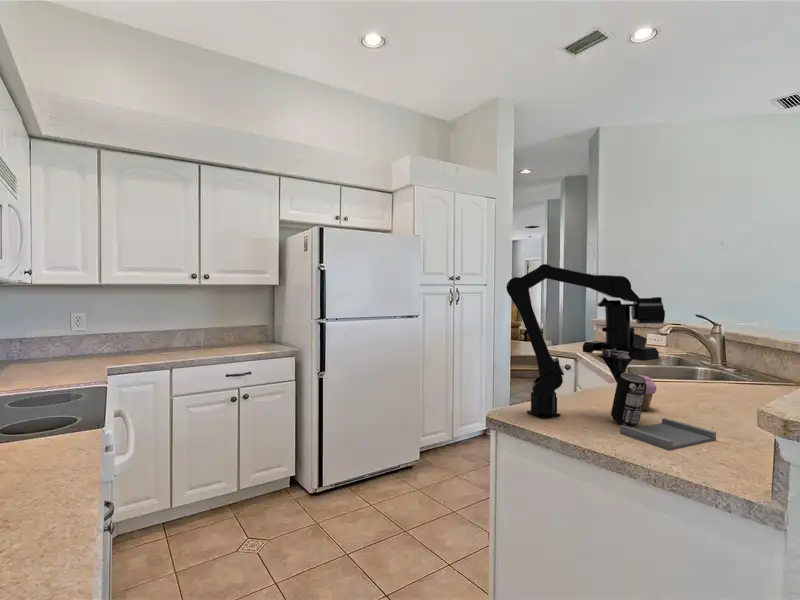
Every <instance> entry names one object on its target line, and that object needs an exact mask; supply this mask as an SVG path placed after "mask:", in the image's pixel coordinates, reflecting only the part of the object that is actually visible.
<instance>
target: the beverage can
mask: <svg viewBox="0 0 800 600" xmlns="http://www.w3.org/2000/svg"><path fill="white" fill-rule="evenodd" d="M639 375H640V374H634V373H630V372H625V373H622V374H621V376H620V377H619V378H618V381H617V382H616V385H615V392H614V396H613V400H612V408H611V412H610V416H611V417H612V419H613V420H614V421H615V422H616V423H619V424H620V425H625V426H629V427H630V426H631V427H632V426H635V425H637V424H639V423H640V419H641V414H642V411H643V410H642V406H643V402H644V397H645V393H646V388H647V385H646V383H645V382H646V379H645V378H643V377H641V376H639Z"/></svg>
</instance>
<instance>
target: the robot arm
mask: <svg viewBox="0 0 800 600" xmlns="http://www.w3.org/2000/svg"><path fill="white" fill-rule="evenodd" d="M544 280H550V281H556V282H560V283H564V284H569V285H573V286H579V287H584V288H587V289H591V290H593V291H595V292H597V293H599V294H602V295H604V296H608V297H610V298H614V299H612V300H610V299H609V300H608V299H607V297H603V298H602V299H601V301H599V302H598V303H597V304H596V306H597V307H600V308H601V307H602V308H603V307H604V308H605V309H604V311H605V326H604V327H602V329H601V330H602V332H605V341H600V340H592V341H585V342H584V343H583V344H582V352H583V353H589V354H592V353H593V352H594V351H598V352H601V353H602V354H601V355H600V356H599V358H601V359H603V361H604V362H605V364H606V366H607V367H608V368H609V371H610V373H611V374H612V377H613V378H614V380H615V383H617V381H618V378H619V377H620V376H621V374H622V373H626V369H627V368H628V366H629V364H630V363H631V362H632V361H633V360H634V361H635V360H636V361H642V362H643V361H645V362H646V361H652V360H659V359H660V354H659V353H660V351H658V349H657V348H656V347H653V346H646V343H647V340H648V339H647V337H644V336H642V335H640V334H636V332H635V329H634V328H635V327H632V326H631V320H632V321H635V322H636V324H637V325H638V324H641V325H642V324H643V325H644V324H645V325H647V324H648V325H650V324H653V325H654V324H655V325H656V324H664V322H665V318H666V310H665V309H664V304H663V301H662V297H660V296H659V297H657V296H655V297H642V298H641V297H639V296H638V294H636V293H635V291H634V290H633V288H632V284H631V281H630V280H629V279H628V278H627V277H625V276H623V275H612V274H608V275H607V274H591V273H588V272H587V273H586V272H582V271H577V270H572V269H567V268H563V267H558V266H552V265H550V264H548V263H543V264H541V265H539V266H538V267H537V268H534V269H533V270H531V271H530V272H528V273H526V274H524V275H523V276H521V277H517V276H515V277H512V278H510V279H509V280H508V282H507V283H506V292H507V294H508V296H509V297H510V299H511V301H512V302H513V304H514V305H515V307H516V308H517V310H518V312H519V314H520V317H521V320H522V323H523V324H524V325H523V326H524V328H525V331H526V332H527V336H528V338H529V341H530V344H531V346H532V347H531V348H532V349H533V352H534V355H535V357H536V361H537V369H538V373H539V374H538V375H539V376H537V378H535V379H534V380H533V381H532V391H531V392H530V410H527V411H526V413H527V414H530V415H533V416H535V417H537V418H539V419H549V418H556V417H560V416H561V413H558V398H557V392H556V390H558V389H559V388H560V387H561V386H562V384H563V382H564V379H563V376H564V375H565V372H564V370H563V368H562V367H561V364H560V359H559V357H556V358H553V356H552V355H551V352H550V351H549V349H548V346H547V343H546V341H545V338H544V336H543V333H542V330H541V327H540V325H539V322H538V319H537V317H536V315H535V311H534V309H533V306H532V300H531V299H532V298H531V293H530V289H532V288H533V287H535V286H536V285H537V284H540V283H541V282H543V281H544ZM620 299H621V300H622V301H625V302H632V303H622V301H621V300H620Z"/></svg>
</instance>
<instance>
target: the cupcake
mask: <svg viewBox="0 0 800 600" xmlns="http://www.w3.org/2000/svg"><path fill="white" fill-rule="evenodd" d="M638 375H639V376H641V377H643V378H645V379H646V382H645V383H646V385H647V388H646V393H645V397H644V402H643V406H642V411H648V410H649V409H650V406H651V402H652V399H653V395H654V394H655V393H656V392H657V386H656V384H655V382H654V381H653V380H652V378H651V377H650V376H646V375H643V374H638Z"/></svg>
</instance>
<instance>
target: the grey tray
mask: <svg viewBox="0 0 800 600" xmlns="http://www.w3.org/2000/svg"><path fill="white" fill-rule="evenodd" d="M619 433H620V434H621V435H624V436H627V437H630V438H633V439H636V440H638V441H641V442H644V443H647V444H650V445H653V446H656V447H658V448H662V449H665V450H667V451H671V450H676V449H681V448H686V447H691V446H695V445H700V444H703V443H707V442H713V441H717V432H716V431H714V430H709V429H706V428H702V427H699V426H695V425H691V424H688V423H685V422H681V421H678V420H673V419H670V418H666V417H663V418H662V417H661V422H660V423H655V424H649V425H644V426H639V427H634V428H633V427H632V426H631V427H630V426H629V425H624V424H621V425H620V426H619Z"/></svg>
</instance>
